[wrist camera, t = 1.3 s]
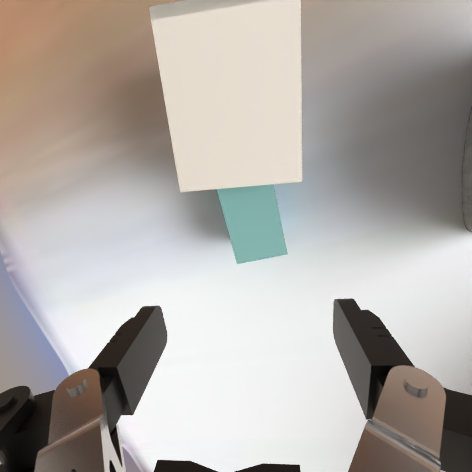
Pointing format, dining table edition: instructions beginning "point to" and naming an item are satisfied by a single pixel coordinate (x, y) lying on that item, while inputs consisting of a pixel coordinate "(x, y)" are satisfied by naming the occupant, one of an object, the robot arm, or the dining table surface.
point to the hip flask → (467, 177)
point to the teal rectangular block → (253, 222)
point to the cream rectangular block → (232, 90)
